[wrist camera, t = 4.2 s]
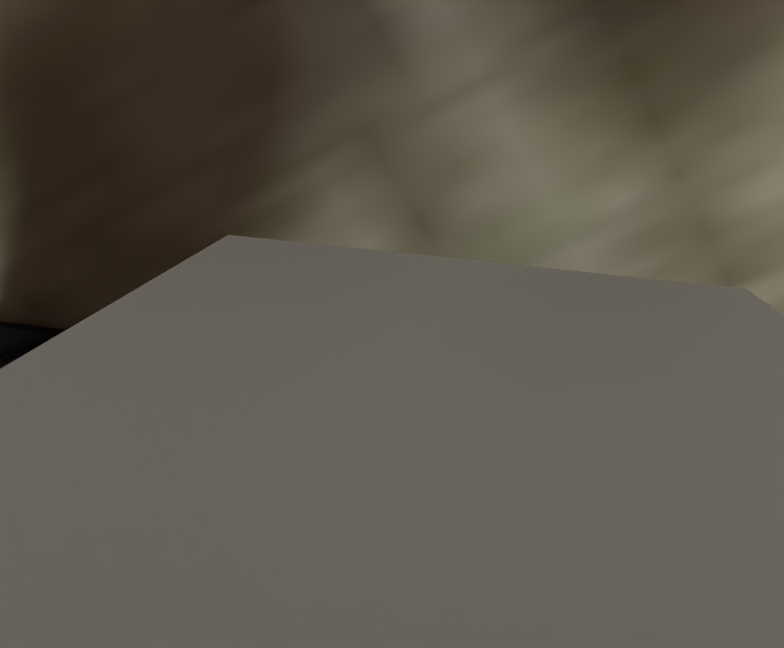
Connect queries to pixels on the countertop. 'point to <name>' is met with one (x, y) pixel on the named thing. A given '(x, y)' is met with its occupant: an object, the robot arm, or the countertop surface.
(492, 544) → the matte white cube
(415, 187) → the countertop surface
